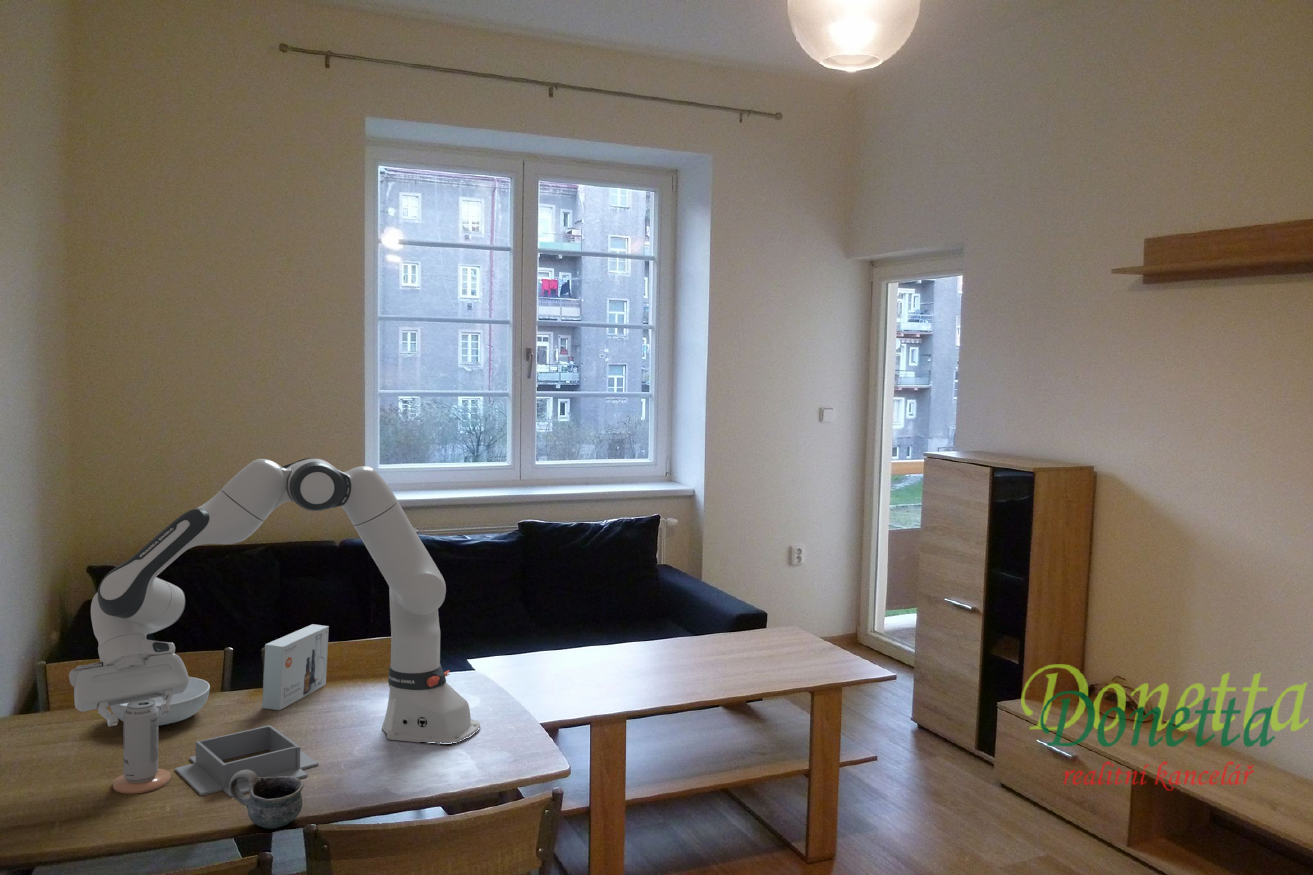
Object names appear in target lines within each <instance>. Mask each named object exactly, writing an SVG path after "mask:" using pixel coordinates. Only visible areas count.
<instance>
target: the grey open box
mask: <svg viewBox="0 0 1313 875" xmlns="http://www.w3.org/2000/svg"><path fill="white" fill-rule="evenodd" d="M266 750H268V751H269V752H266V753H262V754H258V755H253V756H250V757H246V758H241V759H238V760H232V761H229V762H224V761H225V760H229V759H233V758H237V757H241V756H245V755H250V754H254V753H259V752H262V751H266ZM188 759H189V760H190V761H191V762H192V763H191V764H186V765H182V766H177V767H175V768H174V771H175V772H176V773H177V774H178V775H179V776H180V777H181V778H182V779H184V781H185V782H186V783H188V785H189V786H190V787H191V788H192V789H193V790H194V791H196V792H197V793H198V794H199V795H200V796H205V795H209V794H214V793H217V792H220V791H222V792H224V793H225V794H226V795H227V796H228V797H229V798H232V797H233V796H232V795H231V792H230V789H229V783H230V780H231V778H232V777H233V776H234V775H235V774H236V773H237V772H239V771H241V770H251V771H253V772H254V773H255V774H256V775H257V777H273V778H275V777H279V776H289V777H294V778H297V779H300V780H302V779H304V778H307V777H308V775H309V774H308V773H307V772H306V771H305V769H309V768H313V767H317V766H318V767H319V762H318V761H316V760H315V759H313V758H312V757H311V756H309V755H308V754H307V753H305V752H304V751H302V749H301V746H300V745H298V743H296V742H294V741H293V740H292V739H290V738H289V737H287V736H286V735H285V734H283V733H282V732H280V731H279V730H278V729H276V728H275V727H274V726H273V725H271V724H267V725H264V726H261V727H256V728H253V729H248V730H247V729H246V730H242V731H238V732H233V733H229V734H225V735H219V736H216V737H210V738H205V739H202V740H195V755H191V756H189V758H188ZM237 786H238V788H239V790H240V791H241V792H242V793H243V794H244V795H245V794H247V793H250V788H249V783H248V780H246V779H244V778H239V779H237ZM233 798H234V797H233Z"/></svg>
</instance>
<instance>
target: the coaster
mask: <svg viewBox="0 0 1313 875" xmlns="http://www.w3.org/2000/svg"><path fill="white" fill-rule="evenodd" d="M171 778H172V776H171V772H170V771H169V770H166V769H163V768H158V773H157V774H156V775H155V778H154V779H152V780H150V781H148V782H144V783H136V784H135V783H129V782H127V779H125V778H124V776H123V774H121V775H119V776H117V777H116V778H115V779H114V780H113V782H112V789H113V790H114V791H115V792H117V793H119V794H128V795H134V794H136V795H137V794H144V793H148V792H152V791H155V790H158V789H161V788H163V787H165V786H167V785H168V784H169V783H170V781H171Z"/></svg>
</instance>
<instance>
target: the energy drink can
mask: <svg viewBox="0 0 1313 875" xmlns="http://www.w3.org/2000/svg"><path fill="white" fill-rule="evenodd" d="M122 722H123V724H122V725H123V727H122V728H123V733H122V736H123V738H122V740H123V747H122V748H123V753H122V754H123V755H122V756H123V762H122V763H123V769H122V772H123V774H122V775H123V776H124V778H125V779H127V782H129V783H135V784H136V783H144V782H148V781H150V780H152V779H154V778H155V775H156V774H157V773H158V769H159V726H158V708H157V707H156V705H155V701H154V700H150V699H142V700H136V701H132V702H130V703H128V704H127V709H126V710H125V712H124V714H123V721H122Z"/></svg>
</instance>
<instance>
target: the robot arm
mask: <svg viewBox="0 0 1313 875" xmlns="http://www.w3.org/2000/svg"><path fill="white" fill-rule="evenodd" d="M289 502H290V503H291V502H292V503H294V504H296V505H298V507H300V508H302V509H304V510H305V511H309V512H310V511H311V512H321V511H325V510H330V509H333V508H338V507H340V508H341V509H342V510H343V511H344V512H345V514H346V516H347V517H348V519H349V520H350V522H351V524H352V525H353V527H354V529H355V531H356V532H357V534H358V536H359V537H360V539H361V540H362V543H363V545H364V546H365V548H366V549H367V551H368V553H369V555H370V557H371V558H372V559H373V561H374V563H375V564H376V567H378V570H379V572H380V573H381V575H382V577H384V578H383V579H384V580H385V581H386V584H387V585H388V588H389V590H388V591H389V593H388V594H389V596H388V597H389V616H390V617H389V619H390V632H391V635H390V636H391V638H390V640H391V641H390V666H389V667H388V677H387V679H388V680H387V681H388V682H387V683H388V688H389V691H388V692H389V693H388V702H387V706H386V712H385V717H384V720H383V723H382V726H381V728H382V731H383V732H384V733H385V734H386V738H387V739H388V740H391V741H399V742H412V743H420V742H435V743H440V742H441V743H451V742H452V743H453V742H458V741H460V740H463V739H464V738H466V737H469V736H470V735H472V734H473V733H474V732H476V731H477V730H478V728H480V729H481V722H480V721H479V720H474V719H471V711H470V710H471V709H470V705H469V703H468V700H466V699H465V698H464V697H463V696H461V694H460V693H458V692H457V691H456V690H455V689H454V688H453V687H452V686H451V685H450V684H449V683H448V682H447V679H446V678H447V676H450V670H449V669H448V670H446V671H444V669H443V666H442V665H441V662H440V661H441V628H440V616H439V608H441V606H442V605H443V603H444V602H445V599H446V593H447V586H446V581H445V579H444V577H443V574H442V573H441V572H440V570H439V568H438V566H437V564H436V563H435V561H434V560H433V558H432V556H431V555H430V553H429V551H428V550H427V548H426V546H425V545H424V542H422V540H421V538H420V536H419V535H418V534H417V532H416V530H415V528H414V527H413V525H412V523H411V521H410V519H409V518H408V516H407V514H406V512H405V511H404V509H403V507H402V506H401V504H400V502H399V500H398V498H397V497H396V495H395V494H394V492H393V491H392V489H391V488H390V487H389V485H388V483H387V482H386V481H385V480H384V479H383V477H382V476H381V475H380V474H379V472H378V471H377V470H375V468H373V467H371V466H367V465H361V466H356V467H353V468H350V469H349V470H347V471H341V470H339V469H338V468H336V467H335V466H334V465H332V464H331V463H329V462H328V461H326V460H324V459H321V458H316V457H308V458H302V459H300V460H296V461H295V462H292V463H288V464H285V465H283V466H282V465H280V464H279V463H277V462H275V461H273V460H271V459H267V458H266V459H265V458H258V459H257V458H256V459H254V460H253V461H251V462H250V463H248V464H247V465H246V466H244V467H243V468H241V470H239V471H238V472H237V473H236V474H235V475H234V476H233V477H232V478H230V480H228V481H227V483H226V484H225V485H224V486H223V487H222V488H221V489H220V490H218V492H217V493H216V494H215V495H214V496H212V497H211V498H210V499H209V500H207V501H206V502H205V503H203V504H201V505H200V506H198V507H196V508H193V509H189V510H188V511H185V512H184V513H183V514H181V515H179V516H178V517H177V518H176V519H175V520H173V521H172V522H171V523H170V524H169V525H167V526H166V527H165V528H164V529H163V530H162V531H160V532H159V533H158V534H156V535H155V537H153V539H151V540H150V541H149V542H148V543H146V545H144V546H143V547H142V548H141V549H140V550H139V551H137V552H136V553H135V554H134V555H133V556H131V557H130V558H129V559H127V560H126V561H124V562H123V563H121V564H119V565H118V566H116V567H114V568H113V569H111V570H110V571H109V572H108V573H107V574H105V576H104V577H103V578H102V579H101V581H100V583H99V585H98V588H97V592H96V593H95V595H93V597H92V601H91V603H90V618H91V619H90V620H91V624H92V630H93V634H94V636H95V638H96V640H97V642H98V647H97V651H98V652H97V653H98V656H99V661H100V662H94V663H93V662H92V663H89V664H81V665H77V666H76V667H75V668H73V669H71V671H69V673H68V679H69V683H70V685H71V686H72V687H74V689H73V697H74V699H73V700H74V707H75V709H76V710H78V711H79V712H82V713H83V712H87V711H88V712H89V711H93V710H97V712H98V714H99V715H100V716H101V717H103V718H104V719H105V720H106V722H107V723H106V724H107V726H108V727H113V726H117V725H118V723H119V718H117V713H115V714H114V713H113V712H112V711H110V710H109V709H108V708H110V706H115V705H120V704H125V703H130V702H132V701H136V700H142V699H152V698H157V697H163V700H166V703H165V704H162V705H161V707H160V708H159V710H160V712H161V716H164V715H169V714H170V712H171V709H170V705H169V703H170V701H171V698H172V695H173V694H178V693H183V692H184V691H185V689H186V688H187V686H188V684H189V677H190V676H189V674H188V670H187V668H186V666H185V663H184V661H183V660H182V658H181V657H180V656H179V655H178V654H176V653H175V652H176V646H175V643H173V642H170V641H169V642H167V641H159V640H154V639H153V640H152V639H148V638H147V635H151V634H155V633H157V632H160V631H162V630H165V629H167V628H168V627H170V626H172V625H174V624H175V623H177V621H179V619H180V618H181V617H182V615H183V613H184V610H185V607H186V595H185V592H184V590H182V588H180V587H179V586H177V585H175V584H173V583H171V582H168V581H166V580H164V579H162V578H159V577H157V576H158V575H160V574H161V573H162V572H163V571H164V570H166V568H167V567H169V566H170V565H171V564H172V563H174V561H176V560H177V559H178V558H179V557H180V556H181V555H182V554H184V553H185V552H186V551H187V550H189V549H192V548H194V547H197V546H203V545H234V544H239V543H242V542H244V541H246V540H247V539H248V538H249V537H251V536H252V535H253V534H254V533H255V532H256V531H257V530H258V529H259V528H260V527H261V526H262V524H263V523H264V522H265V521H266V520H267V519H268V517H270V515H271V514H272V513H273V511H274V510H276V509H277V508H278V507H279V506H281V505H283V504H285V503H289Z"/></svg>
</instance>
